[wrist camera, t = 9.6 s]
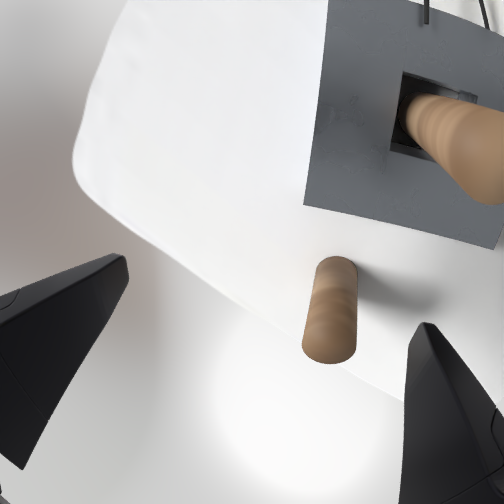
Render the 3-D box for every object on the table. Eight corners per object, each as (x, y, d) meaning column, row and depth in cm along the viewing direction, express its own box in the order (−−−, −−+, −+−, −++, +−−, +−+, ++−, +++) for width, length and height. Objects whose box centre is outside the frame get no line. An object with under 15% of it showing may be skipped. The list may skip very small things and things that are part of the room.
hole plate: (517, 57, 11) (541, 57, 9) (478, 227, 18) (493, 250, 15) (331, -2, 13) (329, -16, 11) (308, 186, 20) (303, 204, 17)
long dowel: (449, 100, 14) (539, 130, 6) (439, 146, 16) (515, 214, 8) (402, 86, 15) (464, 96, 7) (394, 134, 17) (442, 191, 8)
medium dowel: (361, 261, 21) (363, 332, 16) (351, 294, 23) (347, 368, 17) (320, 252, 22) (307, 321, 16) (312, 286, 24) (297, 358, 18)
